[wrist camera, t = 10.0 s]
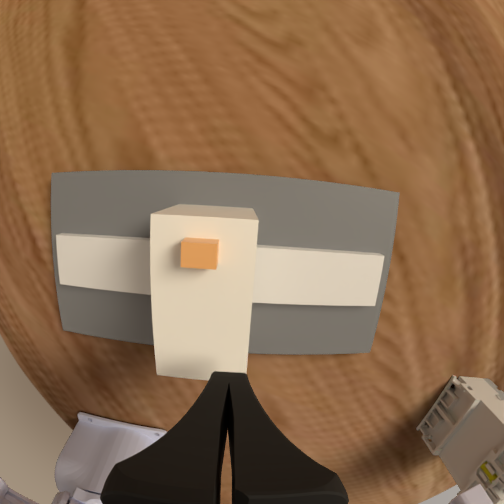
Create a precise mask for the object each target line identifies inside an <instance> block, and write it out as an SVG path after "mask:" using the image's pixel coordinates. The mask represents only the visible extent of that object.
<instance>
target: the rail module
mask: <svg viewBox="0 0 504 504" xmlns="http://www.w3.org/2000/svg"><path fill="white" fill-rule="evenodd" d="M258 223H259V220H258V218H257V216H256V214H255V212H254V210H253V208H240V207H225V206H207V205H188V204H178V205H175V206H172V207H169V208H166V209H163V210H161V211H158V212H155V213H152V214H151V219H150V277H151V305H152V323H153V338H154V350H155V361H156V371H157V375H162V376H170V377H179V378H188V379H199V380H209V379H210V377H211V374H212V373H213V372H214V371H219V372H240V373H245V374H246V371H247V359H248V347H249V335H250V323H251V311H252V299H253V286H254V274H255V261H256V249H257V236H258Z"/></svg>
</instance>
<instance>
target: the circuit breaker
mask: <svg viewBox="0 0 504 504" xmlns="http://www.w3.org/2000/svg"><path fill="white" fill-rule="evenodd" d="M456 378H457V377H456V376H454V375H453V376H452V377H451V379H450V380H449V382H448V384H447V385H446V387H445V388H444V390H443V391H442V393H441V394H440V396H439V397H438V399H437V400H436V402H435V403H434V405H433V406H432V408H431V409H430V410H429V412H428V413H427V414H426V416H425V417H424V419H423V420H422V421H421V423H420V424H419V425H418V426H417V428H416V429H417V431H419V430H421V432H422V433H423V436H422V439H423V440H424V442H425V443H426V445H427V447H428V448H429V450H430V451H431V453H432V455H439V456H440V458H441V460H442V461H443V463H444V464H445V466H446V467H447V469H448V471H449V472H450V474H451V475H452V477H453V479H454V480H455V482H456V483H457V485H458V486H459V488H460V490H461V491H460V492H459V493H457V495H459V494H460V493H462V492H464V491H466V490H468V489H470V488H472V487H474V486H476V485H477V484H481V486H482V487H483V489H484V490H485V492H486V493H487V495H488V496H489V498H490V499H491V501H492V502H493V504H504V392H503V391H501V390H500V391H499V390H498V389H497V386H496V385H495V384H494V383H493V382H492V381H491V380H490V379H484V378H473V377H463V376H459V378H458V379H456ZM452 384H454V385H455V386H454V388H450V387H451V385H452ZM446 392H447V393H446ZM445 394H446V395H445ZM444 395H445V396H444ZM443 397H444V398H443ZM440 402H441V403H440ZM431 414H432V415H431ZM430 415H431V416H430ZM425 422H427V423H425ZM428 439H431V440H432V442H429V440H428Z"/></svg>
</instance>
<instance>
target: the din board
mask: <svg viewBox="0 0 504 504" xmlns="http://www.w3.org/2000/svg"><path fill="white" fill-rule="evenodd" d="M398 203H399V193H398V192H392V191H386V190H380V189H374V188H367V187H361V186H354V185H346V184H339V183H331V182H323V181H315V180H306V179H296V178H286V177H275V176H264V175H251V174H236V173H219V172H198V171H163V170H115V171H81V172H61V173H52V179H51V231H52V249H53V262H54V272H55V281H56V289H57V297H58V304H59V310H60V316H61V321H62V327H63V330H65V331H70V332H75V333H80V334H85V335H91V336H96V337H102V338H108V339H114V340H120V341H127V342H133V343H141V344H148V345H154V338H153V323H152V305H151V277H150V219H151V214H152V213H155V212H158V211H161V210H163V209H166V208H169V207H172V206H175V205H178V204H188V205H207V206H225V207H240V208H253V210H254V212H255V214H256V216H257V218H258V220H259V223H258V236H257V249H256V261H255V274H254V286H253V299H252V311H251V323H250V335H249V347H248V353H255V354H349V353H370V350H371V347H372V343H373V339H374V335H375V332H376V328H377V324H378V319H379V315H380V311H381V307H382V302H383V297H384V293H385V288H386V283H387V278H388V272H389V267H390V261H391V255H392V249H393V242H394V235H395V228H396V220H397V212H398Z"/></svg>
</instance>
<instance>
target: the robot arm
mask: <svg viewBox="0 0 504 504" xmlns="http://www.w3.org/2000/svg"><path fill="white" fill-rule="evenodd" d="M77 416H78V419H79V421H78V423H77V425H76V427H75V428H74V430H73V432H72V433H71V435H70V437H69V439H68V440H67V442H66V444H65V446H64V448H63V449H62V451H61V453H60V455H59V457H58V459H57V462H56V467H55V481H56V485H57V488H58V490H59V491H60V492H58V493H57V494H56V496H55V498H54V500H53V502H52V504H220V490H221V471H222V464H223V457H224V450H225V444H226V437H227V430H228V436H229V447H230V457H231V467H232V504H348V502H349V500H348V495H347V492H346V490H345V488H344V486H343V484H342V482H341V480H340V478H339V477H338V475H337V474H336V473H335V472H333V471H331V470H329V469H327V468H326V467H324V466H322V465H320V464H319V463H317V462H315V461H314V460H313V459H311V458H310V457H308V456H307V455H306V454H304V453H303V452H302V451H301V450H300V449H298V448H297V447H296V446H295V445H294V444H293V443H291V442H290V441H289V440H288V439H287V438H286V437H285V436H284V435H283V434H282V432H281V431H280V430H279V429H278V428H277V427H276V426H275V424H274V423H273V422H272V421H271V419H270V418H269V416H268V415H267V414H266V412H265V411H264V409H263V408H262V406H261V404H260V403H259V401H258V399H257V397H256V396H255V394H254V392H253V390H252V387H251V385H250V383H249V380H248V377H247V374H245V373H240V372H219V371H214V372H213V373H212V374H211V377H210V379H209V381H208V383H207V385H206V387H205V388H204V390H203V392H202V393H201V394H200V396H199V397H198V399H197V400H196V402H195V403H194V404H193V406H192V407H191V408H190V409H189V411H188V412H187V413H186V414H185V415H184V417H183V418H182V419H181V420H180V421H179V422H178V423H177V424H176V425H175V426H174V427H173V428H172V429H170V430H169V431H168V432H167V431H165V430H162V429H156V428H150V427H144V426H139V425H134V424H129V423H124V422H119V421H115V420H110V419H106V418H102V417H98V416H94V415H90V414H87V413H83V412H79V413H78V415H77ZM0 504H38V503H36V502H34V501H32V500H30V499H28V498H26V497H25V496H23V495H21V494H19V493H17V492H15V491H14V490H12V489H10V488H9V487H8V485H7V484H6V483H5V481H4V480H3V479H2V478H1V477H0ZM449 504H493V502H492V501H491V499H490V498H489V496H488V495H487V493H486V492H485V490H484V489H483V487H482V486H481V484H477V485H476V486H474V487H472V488H470V489H468V490H466V491H464V492H462V493H460V494H459V495H457V496H456V497H455V498H454V499H452V500H451V502H450V503H449Z"/></svg>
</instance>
